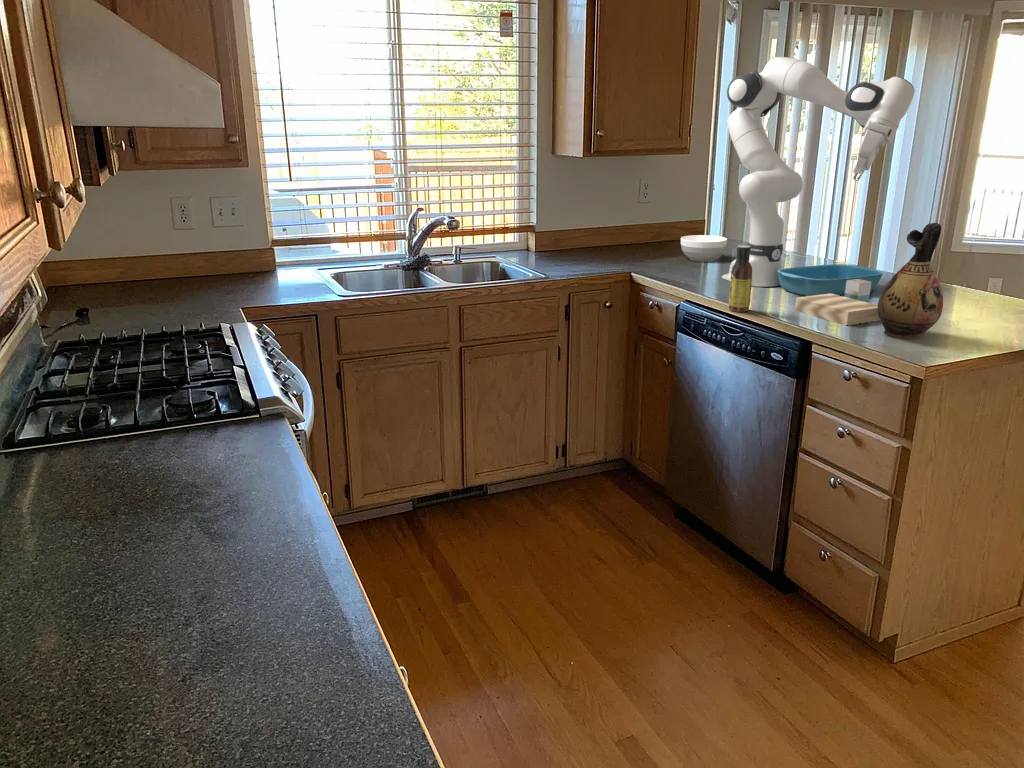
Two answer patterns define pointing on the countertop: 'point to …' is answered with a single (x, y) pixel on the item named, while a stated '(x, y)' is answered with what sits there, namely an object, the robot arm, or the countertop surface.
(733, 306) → the sauce bottle
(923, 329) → the ceramic jug
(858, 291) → the white and teal block
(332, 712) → the countertop surface
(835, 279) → the casserole dish
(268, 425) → the countertop surface
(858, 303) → the wooden block
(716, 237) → the bowl
